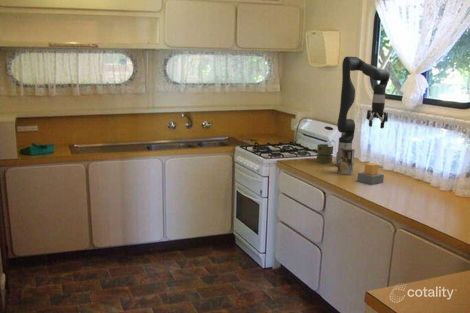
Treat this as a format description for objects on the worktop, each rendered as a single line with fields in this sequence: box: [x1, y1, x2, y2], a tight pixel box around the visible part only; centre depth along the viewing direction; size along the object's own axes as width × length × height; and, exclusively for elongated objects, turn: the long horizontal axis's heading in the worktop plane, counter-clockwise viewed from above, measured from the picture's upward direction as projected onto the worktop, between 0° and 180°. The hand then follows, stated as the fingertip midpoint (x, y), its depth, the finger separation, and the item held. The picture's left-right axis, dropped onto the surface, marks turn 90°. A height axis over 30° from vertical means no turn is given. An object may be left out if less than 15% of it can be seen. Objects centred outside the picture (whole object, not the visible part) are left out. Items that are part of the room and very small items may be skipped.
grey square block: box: [356, 171, 385, 186], centre depth 298 cm, size 11×11×6 cm
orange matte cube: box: [363, 162, 379, 175], centre depth 297 cm, size 6×6×6 cm
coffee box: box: [337, 148, 355, 176], centre depth 317 cm, size 9×6×16 cm
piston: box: [316, 143, 334, 164], centre depth 353 cm, size 11×12×11 cm
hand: (376, 127), depth 305 cm, fingers open, 8 cm apart
